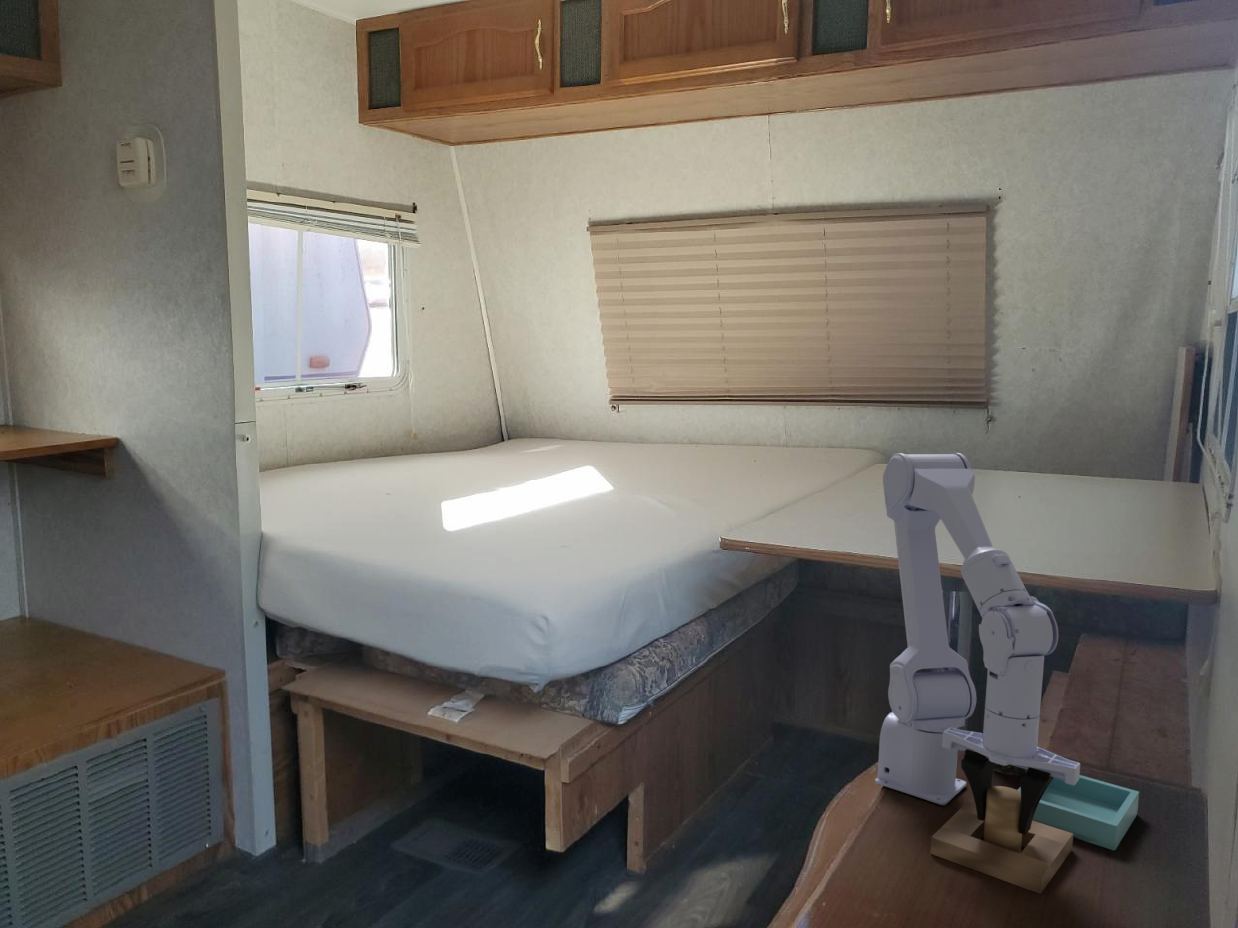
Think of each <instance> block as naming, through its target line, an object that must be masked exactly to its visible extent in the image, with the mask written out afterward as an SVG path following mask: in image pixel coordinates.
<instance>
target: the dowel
mask: <svg viewBox="0 0 1238 928" xmlns="http://www.w3.org/2000/svg"><path fill="white" fill-rule="evenodd" d="M1020 811H1021V792H1019V791H1018V789H1015V788H1013V787H1008V786H1001V785H993V786H991V787H990V788H988V789H987V798H986V813H985V827H984V836H983V841H985V842H988V843H991V844H994V845H997V846H1000V847H1002V848H1005V849H1008V850H1011V851H1014V852H1017V853H1021V852H1022V846H1021V842H1022V834H1021V833H1019V819H1020Z"/></svg>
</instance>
